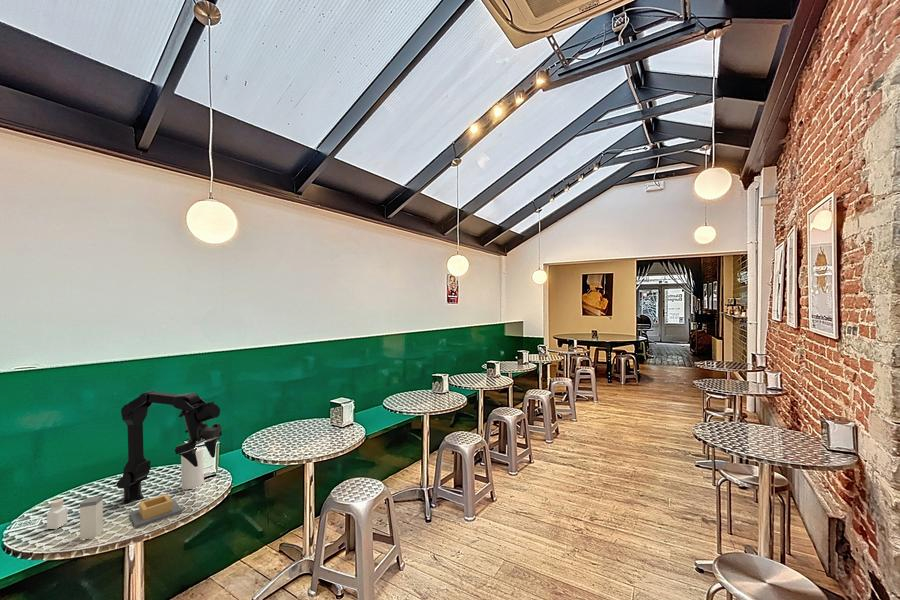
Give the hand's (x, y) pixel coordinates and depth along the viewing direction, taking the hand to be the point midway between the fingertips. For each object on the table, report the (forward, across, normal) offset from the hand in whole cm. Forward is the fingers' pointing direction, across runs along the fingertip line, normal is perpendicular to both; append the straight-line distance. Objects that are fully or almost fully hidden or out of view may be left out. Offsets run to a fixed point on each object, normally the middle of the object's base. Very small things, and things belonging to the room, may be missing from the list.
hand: (205, 461), depth 156 cm
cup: (+11, +13, +20) cm, 26 cm away
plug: (+9, -25, +26) cm, 37 cm away
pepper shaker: (+4, -21, +44) cm, 49 cm away
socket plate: (+12, -10, +16) cm, 23 cm away
